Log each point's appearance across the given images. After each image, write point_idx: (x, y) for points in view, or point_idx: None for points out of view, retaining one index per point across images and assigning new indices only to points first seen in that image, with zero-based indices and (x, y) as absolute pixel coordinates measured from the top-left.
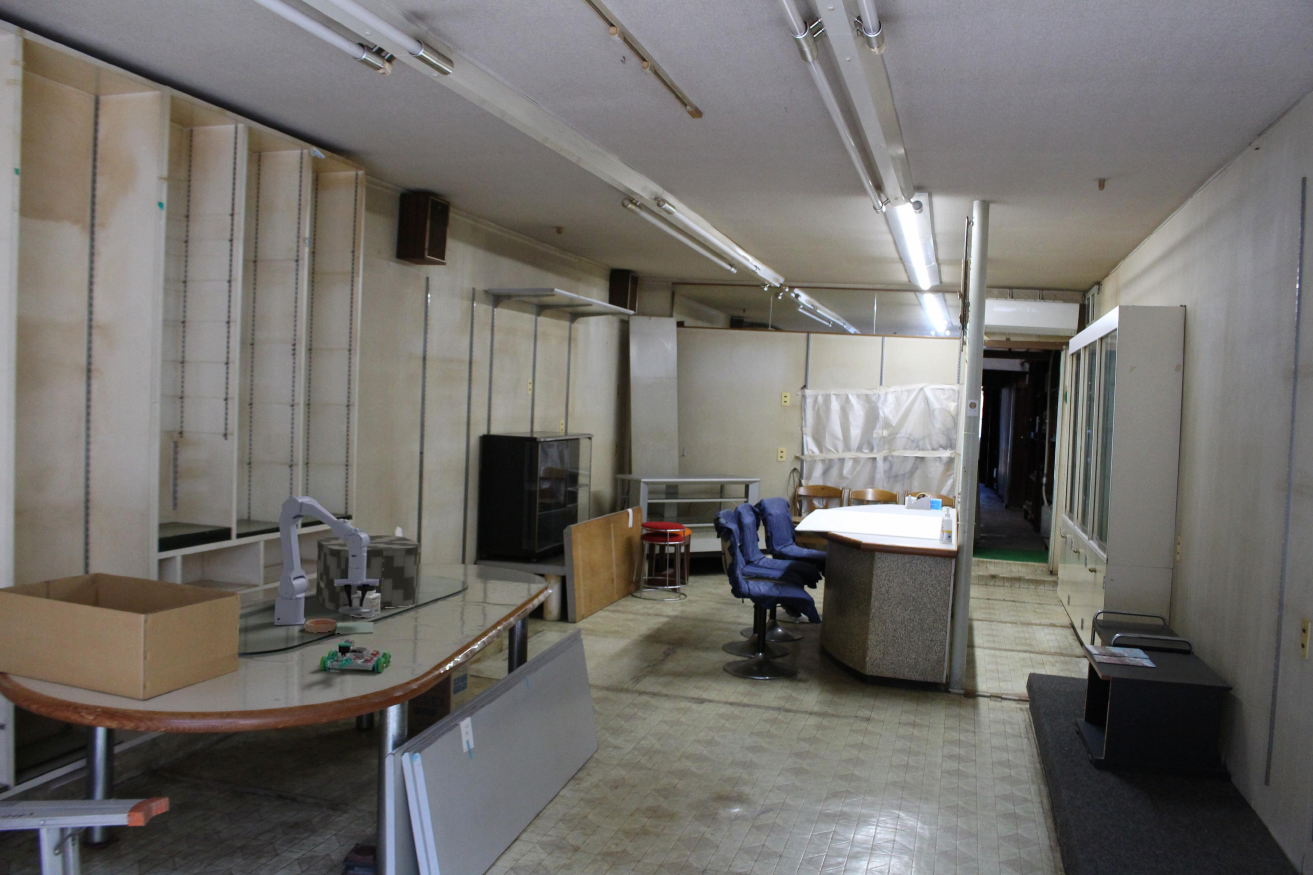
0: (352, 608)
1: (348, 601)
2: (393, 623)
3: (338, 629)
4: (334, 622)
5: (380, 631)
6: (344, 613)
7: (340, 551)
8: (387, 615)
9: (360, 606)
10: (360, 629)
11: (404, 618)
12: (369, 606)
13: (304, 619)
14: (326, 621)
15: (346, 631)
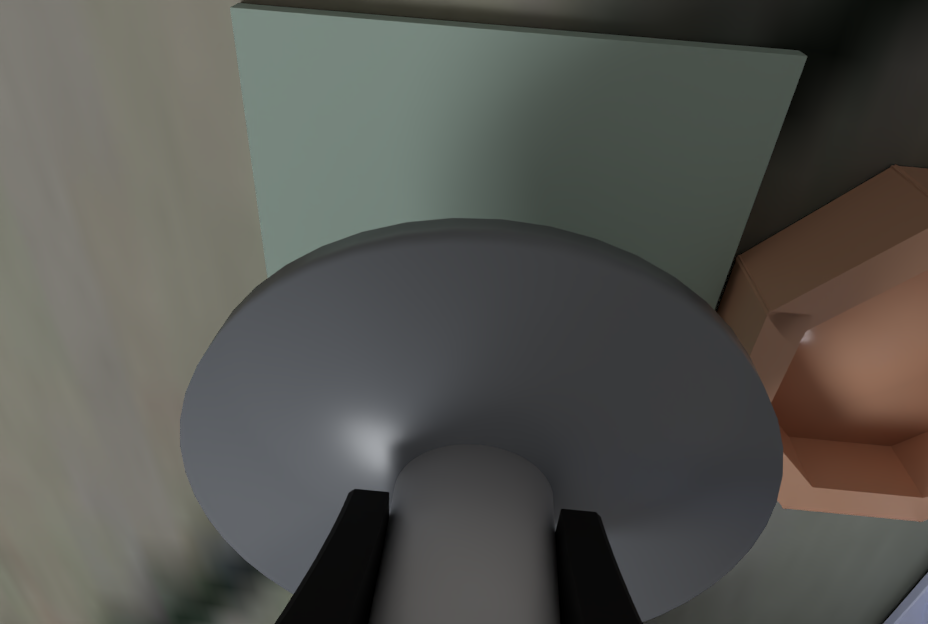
0: (535, 479)
1: (640, 618)
2: (99, 418)
3: (707, 236)
4: (768, 348)
5: (151, 102)
6: (714, 313)
7: None
8: (217, 618)
9: (383, 497)
10: (420, 185)
11: (54, 537)
12: (261, 570)
13: (907, 616)
14: (803, 466)
15: (624, 104)
